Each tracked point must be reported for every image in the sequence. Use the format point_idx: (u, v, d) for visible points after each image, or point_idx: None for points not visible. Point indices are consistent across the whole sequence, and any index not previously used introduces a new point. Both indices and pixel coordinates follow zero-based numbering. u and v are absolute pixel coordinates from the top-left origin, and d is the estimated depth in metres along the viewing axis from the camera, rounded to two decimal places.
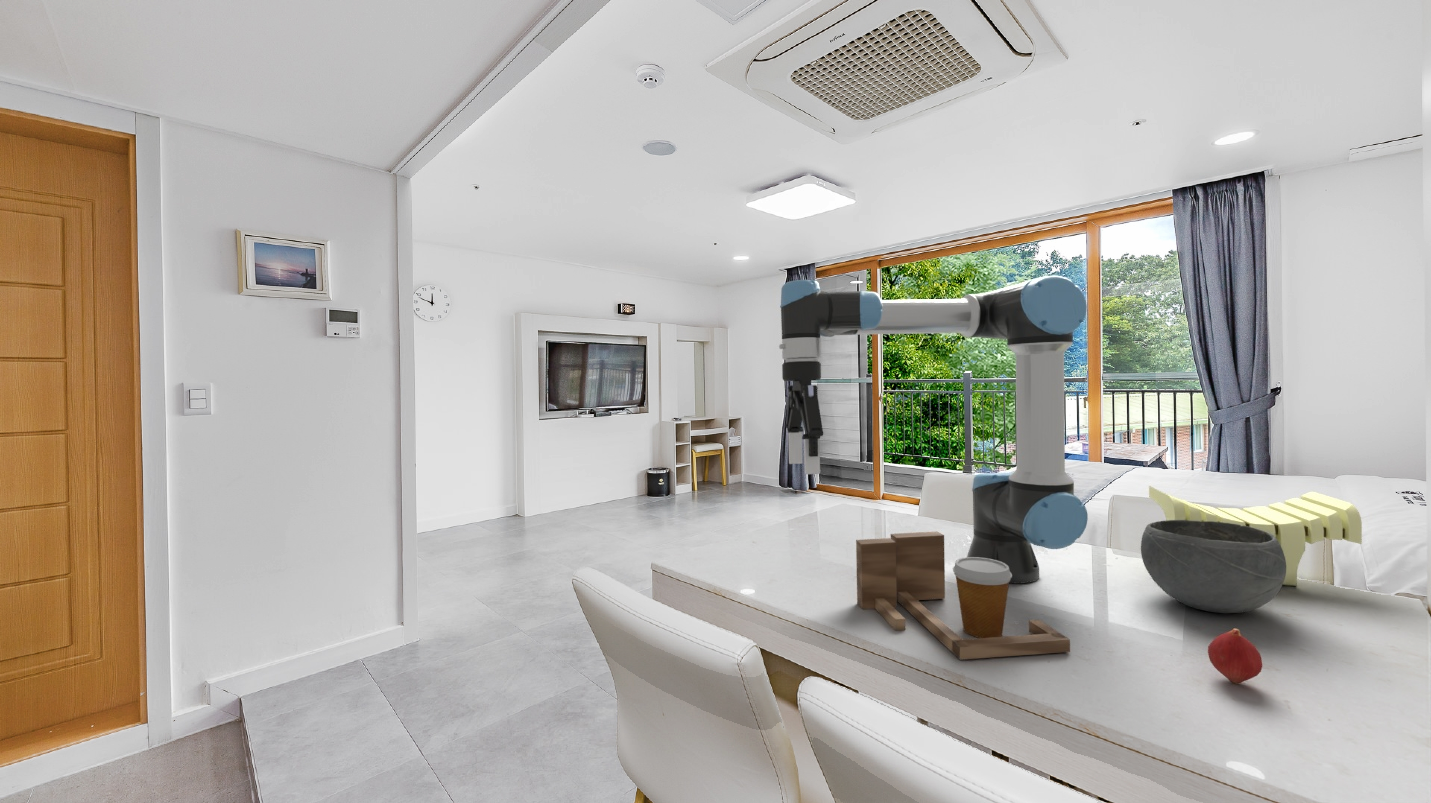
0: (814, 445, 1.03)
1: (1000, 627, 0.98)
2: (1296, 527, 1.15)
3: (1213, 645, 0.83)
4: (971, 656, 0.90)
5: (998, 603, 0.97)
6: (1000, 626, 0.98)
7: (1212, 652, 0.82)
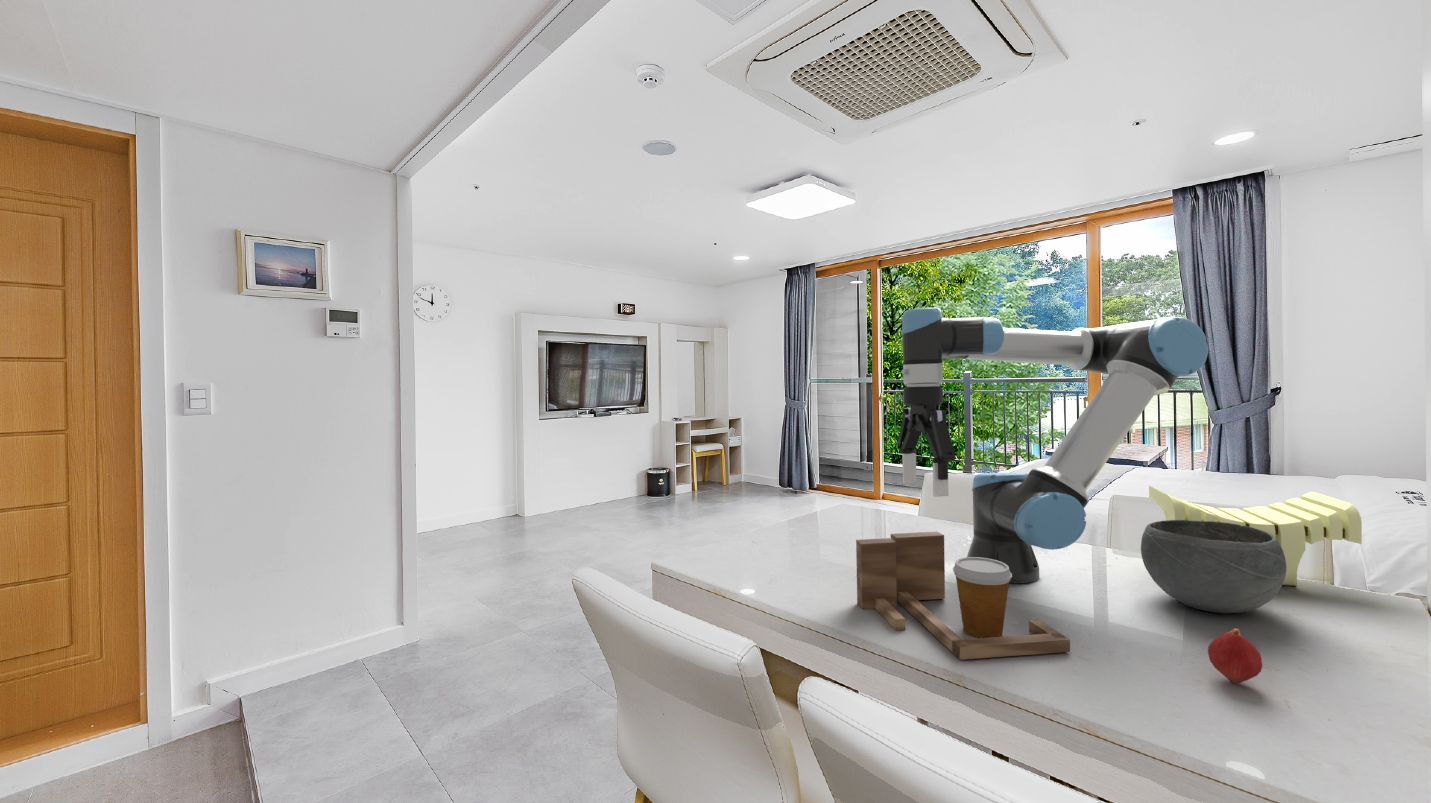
0: (944, 469, 1.07)
1: (1000, 627, 0.98)
2: (1296, 527, 1.15)
3: (1213, 645, 0.83)
4: (971, 656, 0.90)
5: (998, 603, 0.97)
6: (1000, 626, 0.98)
7: (1212, 652, 0.82)
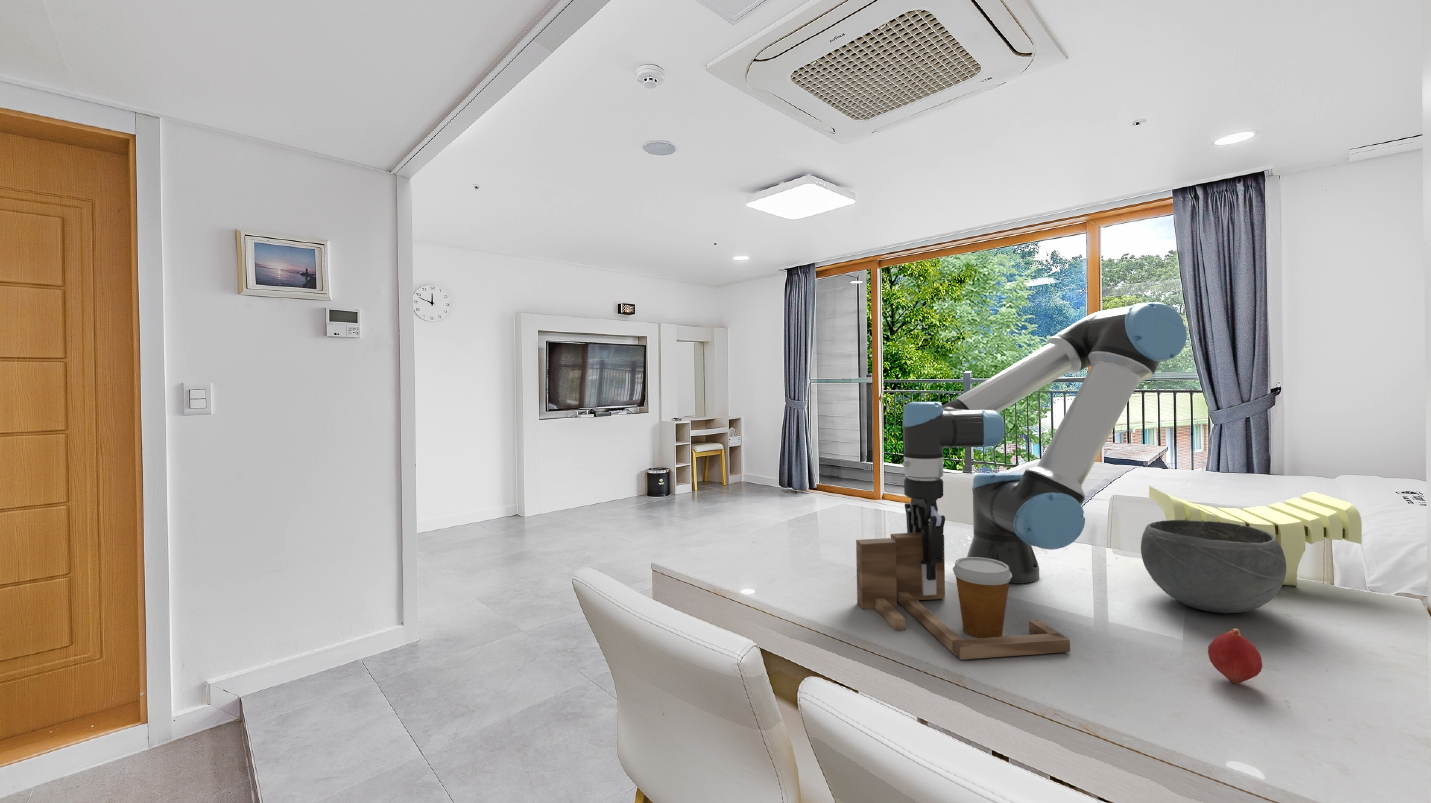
0: (932, 570, 1.13)
1: (1000, 627, 0.98)
2: (1296, 527, 1.15)
3: (1213, 645, 0.83)
4: (971, 656, 0.90)
5: (998, 603, 0.97)
6: (1000, 626, 0.98)
7: (1212, 652, 0.82)
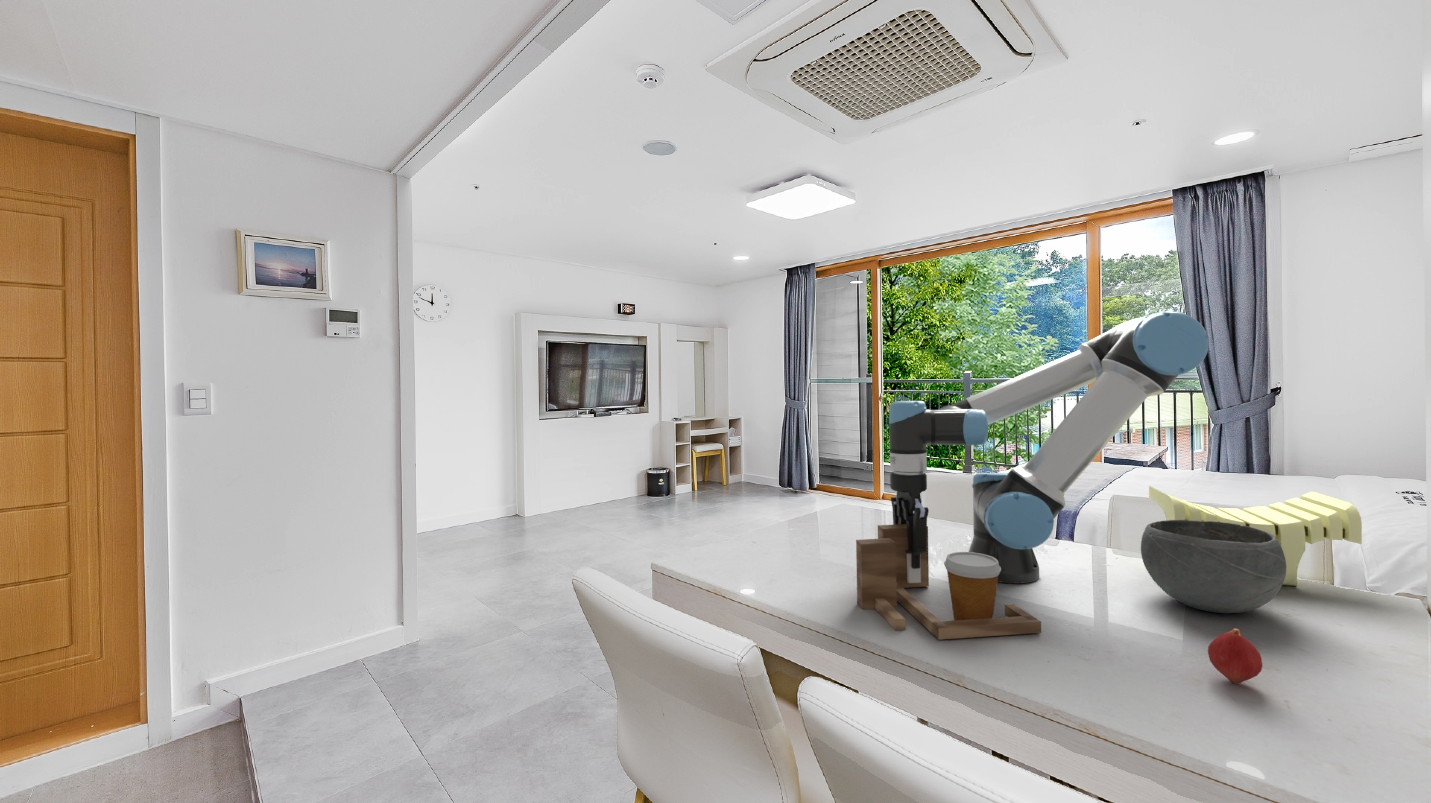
0: (917, 559, 1.20)
1: None
2: (1296, 527, 1.15)
3: (1213, 645, 0.83)
4: (949, 636, 0.97)
5: (988, 596, 1.00)
6: None
7: (1212, 652, 0.82)
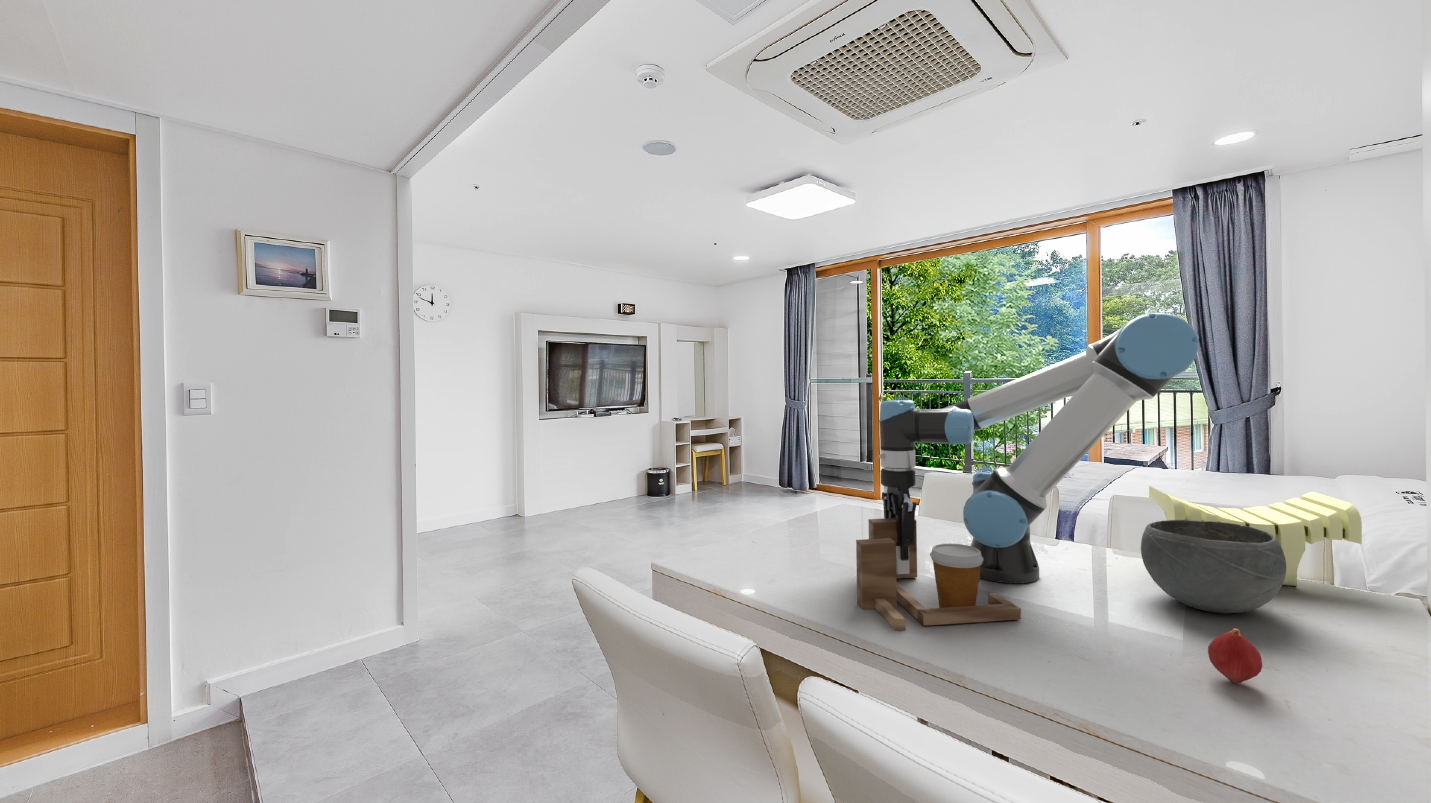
0: (905, 551, 1.25)
1: None
2: (1296, 527, 1.15)
3: (1213, 645, 0.83)
4: (933, 622, 1.03)
5: (970, 585, 1.06)
6: None
7: (1212, 652, 0.82)
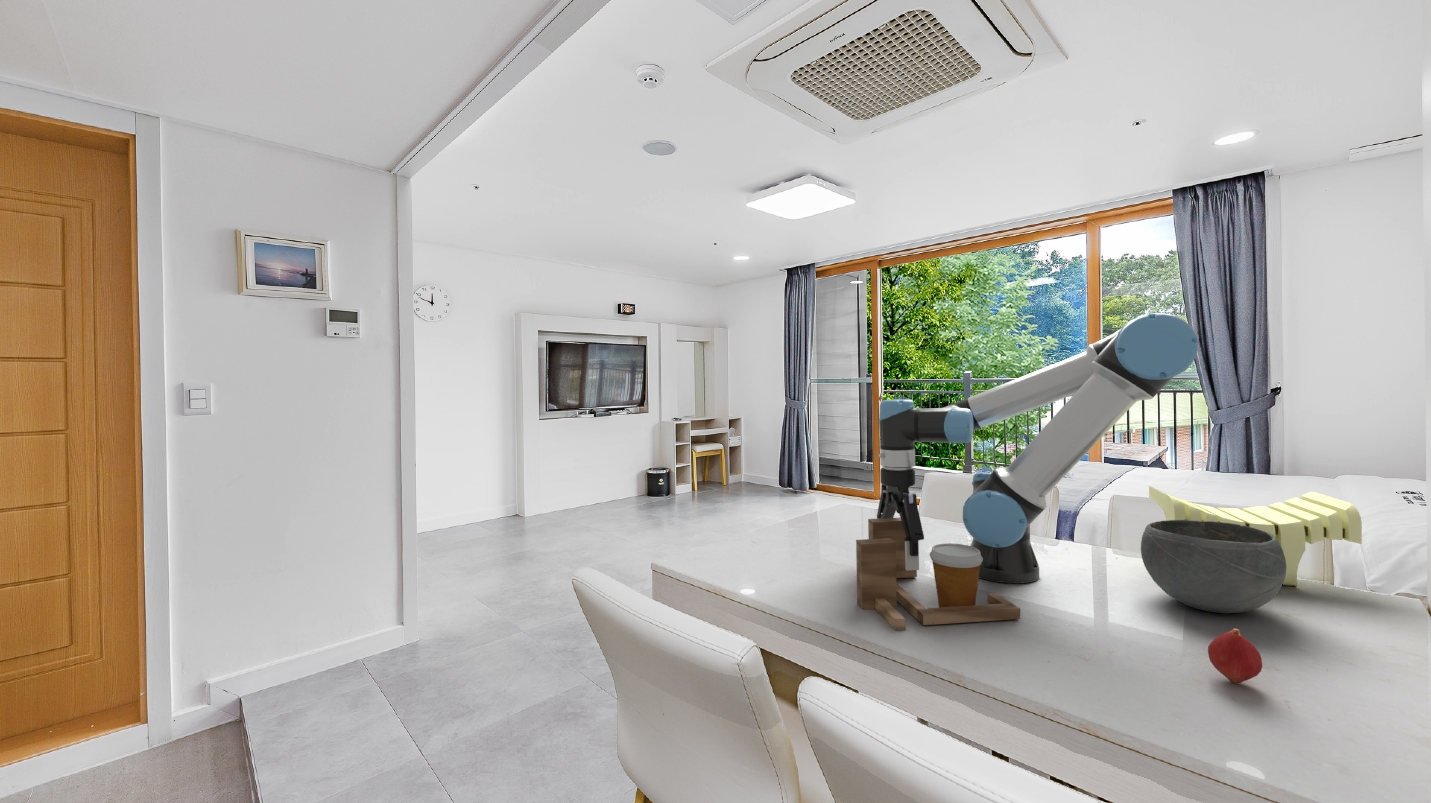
0: (915, 546, 1.21)
1: None
2: (1296, 527, 1.15)
3: (1213, 645, 0.83)
4: (933, 622, 1.03)
5: (970, 584, 1.06)
6: None
7: (1212, 652, 0.82)
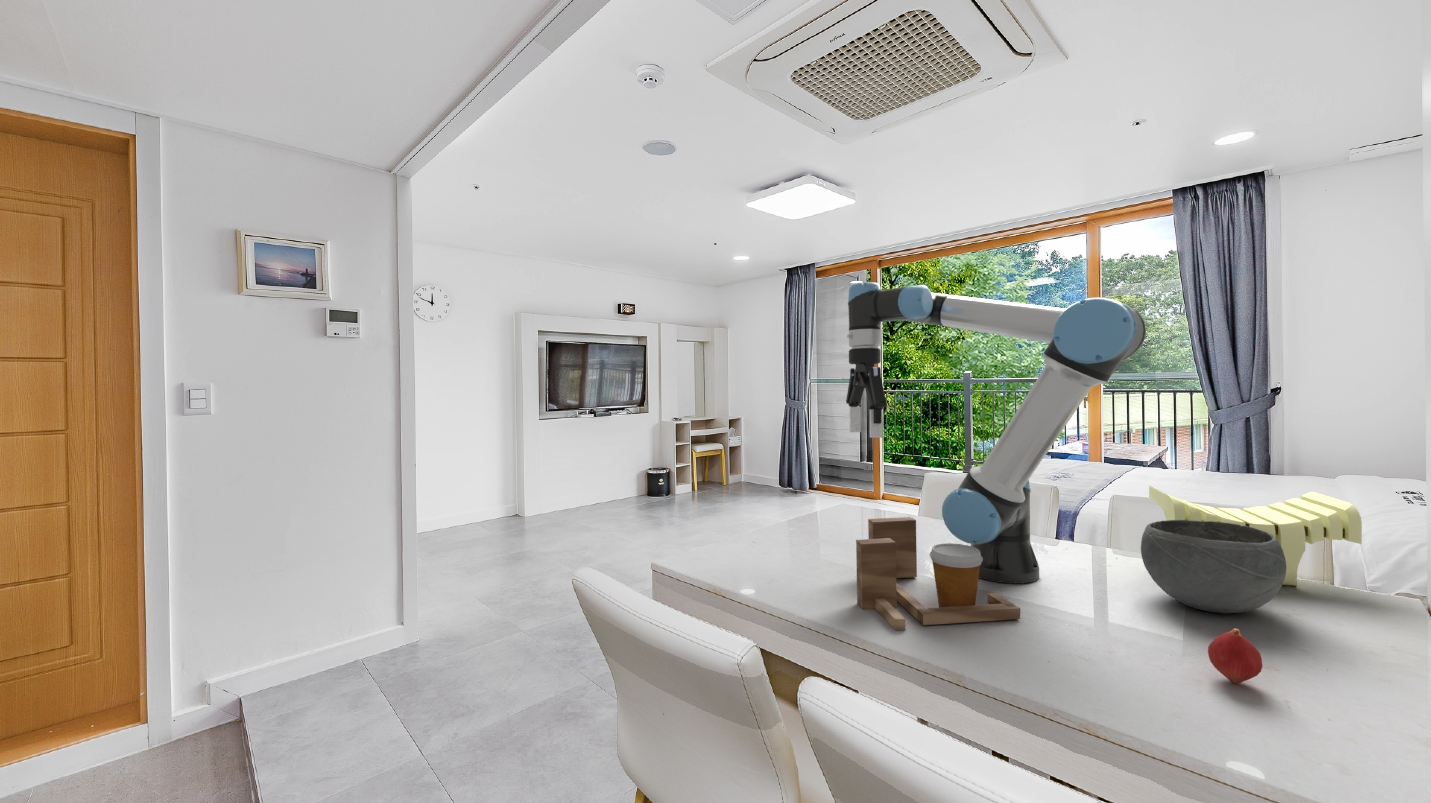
0: (878, 414, 1.30)
1: None
2: (1296, 527, 1.15)
3: (1213, 645, 0.83)
4: (933, 622, 1.03)
5: (970, 584, 1.06)
6: None
7: (1212, 652, 0.82)
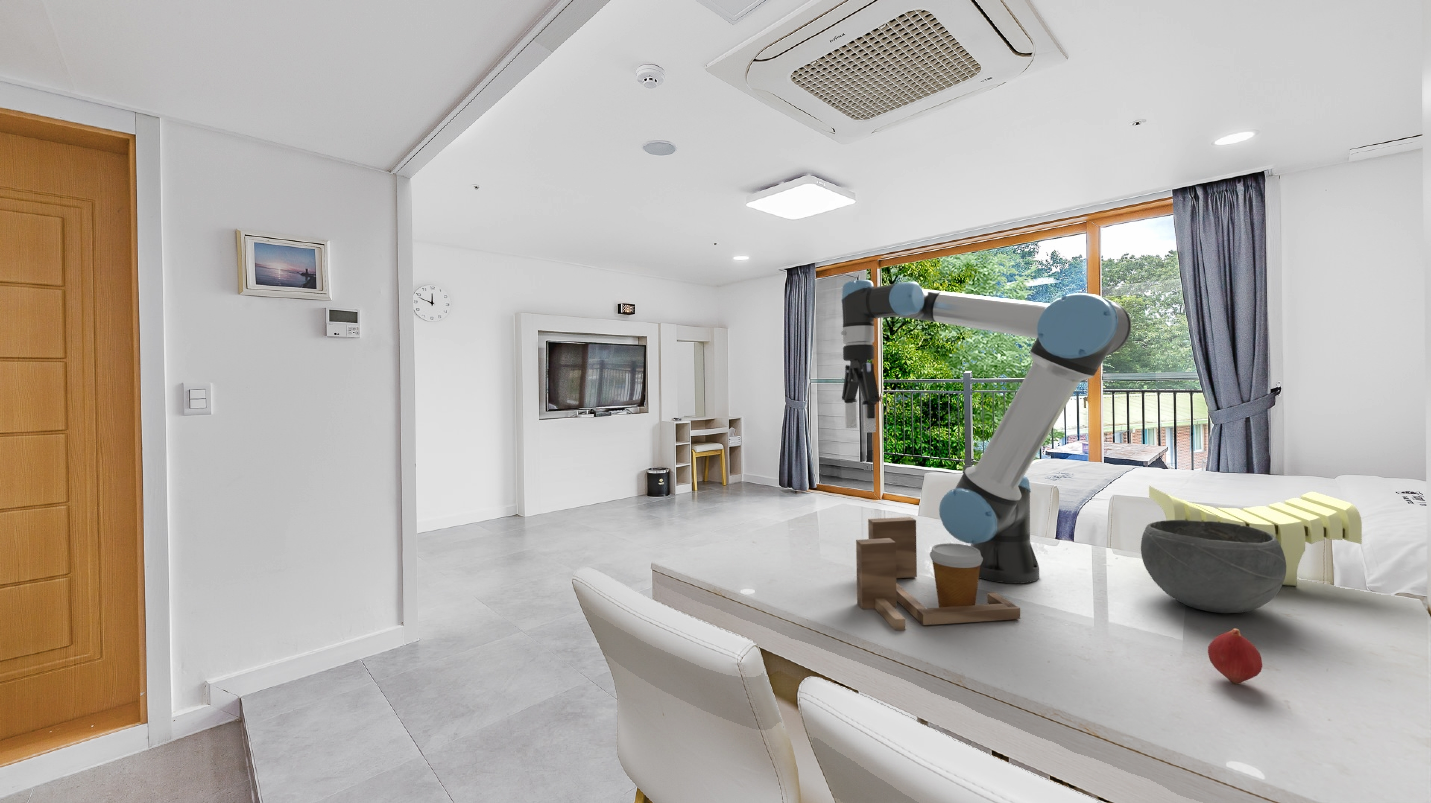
0: (872, 409, 1.32)
1: None
2: (1296, 527, 1.15)
3: (1213, 645, 0.83)
4: (933, 622, 1.03)
5: (970, 584, 1.06)
6: None
7: (1212, 652, 0.82)
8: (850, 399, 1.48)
